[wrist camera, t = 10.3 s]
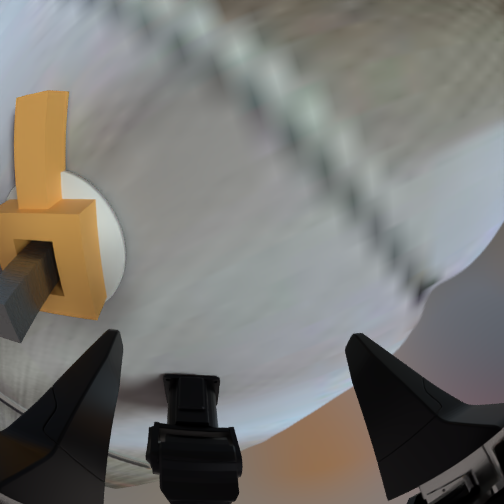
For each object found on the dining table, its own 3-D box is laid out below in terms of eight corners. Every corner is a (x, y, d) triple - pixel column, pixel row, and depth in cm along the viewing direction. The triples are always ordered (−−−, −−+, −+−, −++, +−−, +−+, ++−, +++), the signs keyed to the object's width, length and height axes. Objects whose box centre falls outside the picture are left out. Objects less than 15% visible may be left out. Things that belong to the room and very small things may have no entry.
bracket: (132, 312, 23) (124, 342, 19) (24, 297, 20) (8, 320, 17) (131, 86, 14) (112, 80, 11) (-2, 107, 12) (-30, 112, 8)
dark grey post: (68, 266, 19) (20, 343, 11) (47, 263, 18) (-4, 335, 10) (63, 233, 17) (3, 304, 10) (41, 231, 17) (-21, 297, 9)
